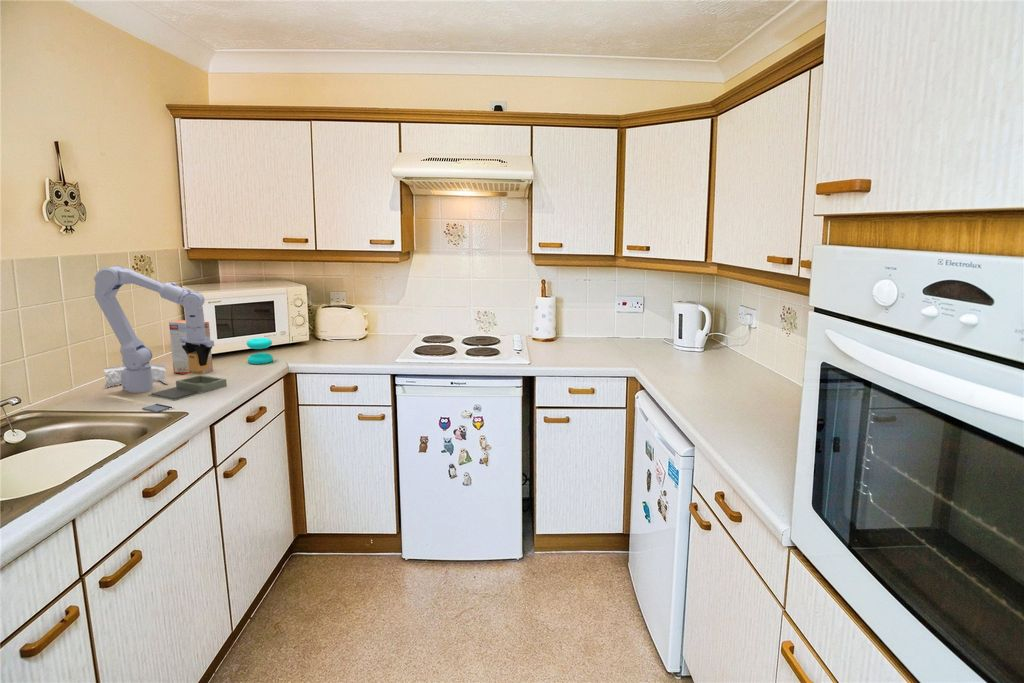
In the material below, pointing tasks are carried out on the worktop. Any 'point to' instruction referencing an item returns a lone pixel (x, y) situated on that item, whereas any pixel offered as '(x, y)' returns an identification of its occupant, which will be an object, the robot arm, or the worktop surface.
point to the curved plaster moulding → (115, 372)
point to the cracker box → (179, 353)
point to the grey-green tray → (191, 387)
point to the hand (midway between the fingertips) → (198, 364)
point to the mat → (156, 407)
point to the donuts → (259, 344)
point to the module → (196, 362)
